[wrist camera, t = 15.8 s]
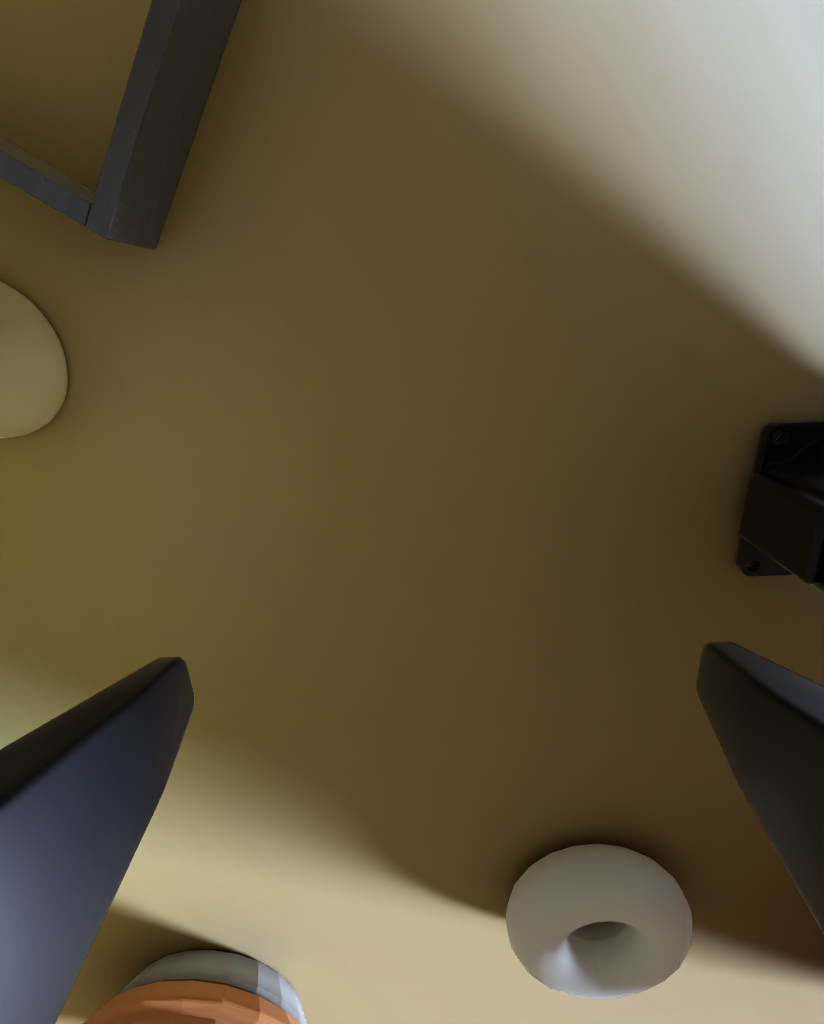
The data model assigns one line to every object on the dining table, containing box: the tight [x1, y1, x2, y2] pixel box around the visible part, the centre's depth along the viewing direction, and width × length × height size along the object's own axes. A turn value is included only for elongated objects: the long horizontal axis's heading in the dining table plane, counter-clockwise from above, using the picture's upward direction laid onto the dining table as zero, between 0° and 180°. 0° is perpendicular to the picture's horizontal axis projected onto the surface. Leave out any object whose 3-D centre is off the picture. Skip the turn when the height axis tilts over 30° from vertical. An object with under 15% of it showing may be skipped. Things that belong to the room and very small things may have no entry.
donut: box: [506, 844, 692, 999], centre depth 28 cm, size 10×4×10 cm
